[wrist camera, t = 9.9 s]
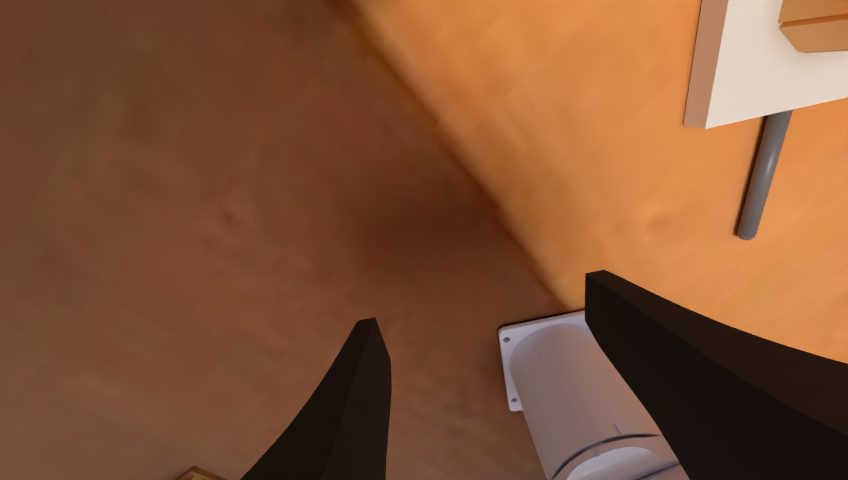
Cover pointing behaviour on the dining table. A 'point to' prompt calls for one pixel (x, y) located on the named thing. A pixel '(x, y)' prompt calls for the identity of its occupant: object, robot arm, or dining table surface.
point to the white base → (756, 83)
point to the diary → (198, 475)
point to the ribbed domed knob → (815, 24)
